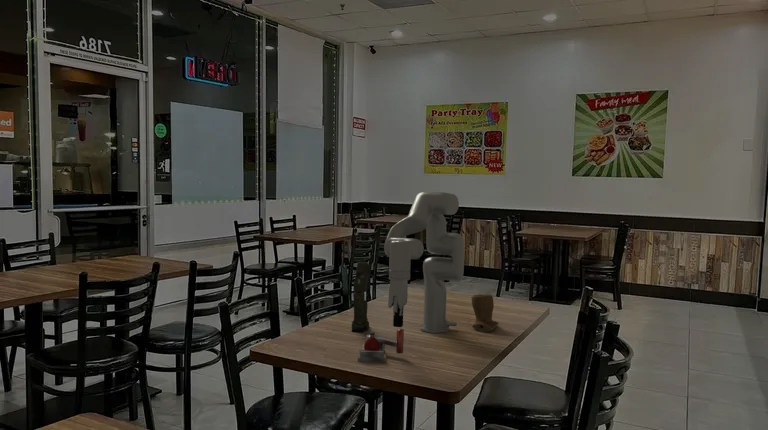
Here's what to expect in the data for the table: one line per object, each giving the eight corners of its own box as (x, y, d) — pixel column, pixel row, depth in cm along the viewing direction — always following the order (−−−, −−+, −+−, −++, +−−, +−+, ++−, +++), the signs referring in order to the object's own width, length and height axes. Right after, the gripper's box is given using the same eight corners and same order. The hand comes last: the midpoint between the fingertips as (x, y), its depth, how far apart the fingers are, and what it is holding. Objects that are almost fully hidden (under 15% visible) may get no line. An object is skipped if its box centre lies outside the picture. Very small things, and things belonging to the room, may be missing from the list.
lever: (363, 345, 215) (364, 323, 215) (371, 343, 219) (371, 321, 218) (399, 354, 205) (399, 331, 205) (406, 351, 209) (406, 329, 208)
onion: (363, 354, 210) (363, 332, 210) (379, 354, 211) (379, 332, 210) (364, 359, 205) (364, 337, 204) (380, 359, 205) (380, 337, 205)
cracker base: (384, 347, 219) (385, 330, 219) (385, 361, 202) (386, 343, 202) (358, 347, 219) (359, 330, 219) (357, 361, 202) (357, 342, 202)
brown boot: (475, 322, 261) (476, 290, 260) (500, 326, 256) (501, 293, 255) (465, 330, 247) (466, 296, 246) (492, 334, 242) (493, 299, 241)
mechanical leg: (363, 332, 236) (368, 260, 241) (346, 331, 238) (352, 260, 243) (370, 332, 250) (375, 264, 255) (354, 331, 251) (359, 263, 256)
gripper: (394, 271, 210) (393, 321, 211) (383, 277, 195) (382, 330, 196) (414, 272, 208) (412, 322, 209) (404, 278, 193) (403, 332, 194)
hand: (398, 326), depth 202 cm, fingers closed
